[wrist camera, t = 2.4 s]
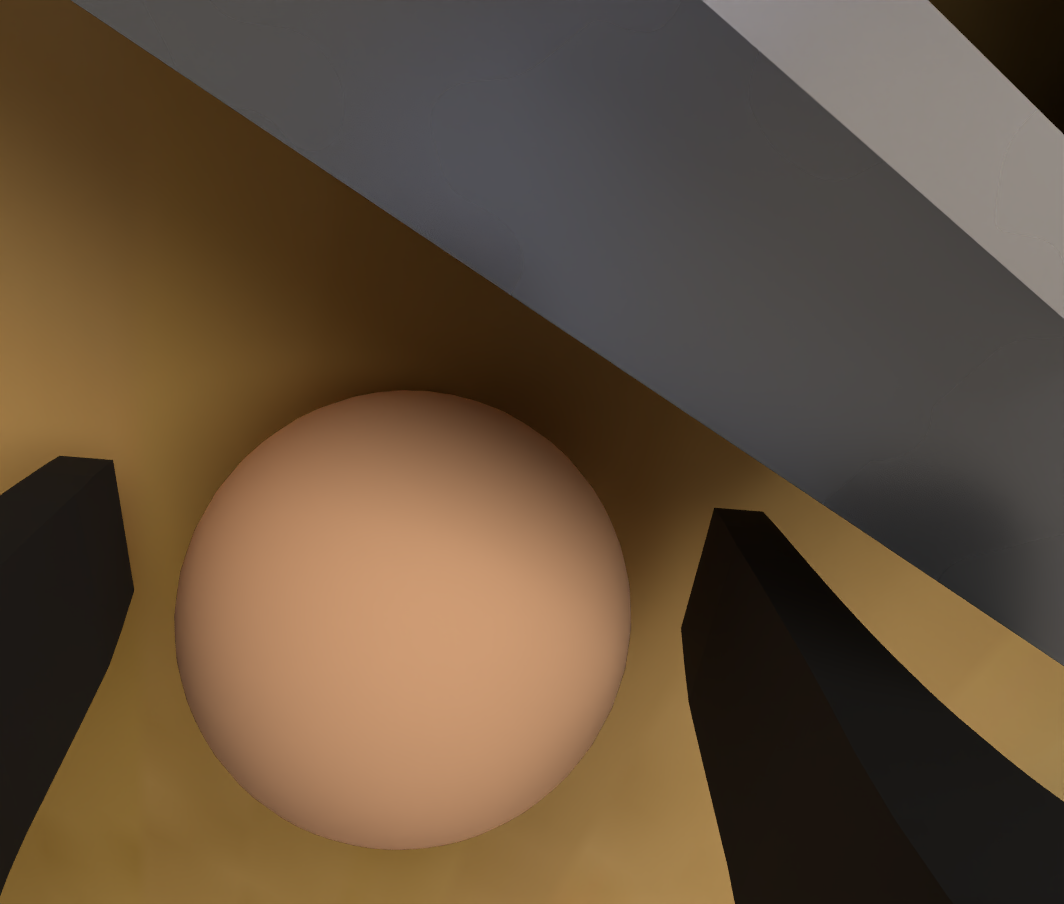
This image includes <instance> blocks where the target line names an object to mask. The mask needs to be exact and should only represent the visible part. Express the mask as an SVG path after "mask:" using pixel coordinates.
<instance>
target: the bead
mask: <svg viewBox="0 0 1064 904" xmlns="http://www.w3.org/2000/svg"><path fill="white" fill-rule="evenodd" d="M174 620H175V643H176V656H177V663H178V667H179V672H180V676H181V681H182V684H183V688H184V691H185V695H186V699H187V702H188V704H189V707H190V709H191V712H192V714H193V716H194V719H195V721H196V723H197V725H198V727H199V729H200V731H201V733H202V735H203V736H204V738H205V740H206V742H207V743H208V745H209V747H210V748H211V750H212V751H213V753H214V755H215V756H216V757H217V758H218V760H219V761H220V762H221V763H222V764H223V766H224V767H225V768H226V769H227V770H228V772H229V773H230V774H231V775H232V776H233V778H234V779H235V780H236V781H237V782H238V783H239V785H240V786H241V787H243V788H244V789H245V790H246V791H247V792H248V793H249V794H250V795H251V796H252V797H254V798H255V799H256V800H258V801H259V802H260V803H262V804H263V805H265V806H266V807H267V808H269V809H270V810H272V811H273V812H274V813H276V814H277V815H279V816H280V817H281V818H283V819H285V820H287V821H288V822H290V823H292V824H294V825H295V826H297V827H300V828H302V829H304V830H306V831H309V832H311V833H313V834H316V835H319V836H322V837H325V838H328V839H330V840H334V841H338V842H342V843H346V844H350V845H354V846H360V847H366V848H374V849H386V850H405V849H420V848H429V847H436V846H443V845H447V844H451V843H456V842H460V841H463V840H466V839H469V838H472V837H475V836H478V835H480V834H483V833H485V832H487V831H489V830H492V829H494V828H496V827H498V826H500V825H502V824H504V823H506V822H508V821H510V820H512V819H513V818H515V817H517V816H519V815H520V814H522V813H524V812H525V811H527V810H528V809H529V808H531V807H532V806H533V805H535V804H536V803H537V802H539V801H540V800H541V799H542V798H544V797H545V796H546V795H547V794H548V793H550V792H551V791H552V790H553V789H554V788H556V787H557V786H558V785H559V784H560V783H561V782H562V781H563V780H564V779H565V778H566V777H567V776H568V775H569V773H570V772H571V771H572V770H573V768H574V767H575V766H576V765H577V764H578V762H579V761H580V760H581V759H582V757H583V756H584V755H585V753H586V752H587V751H588V750H589V748H590V747H591V746H592V744H593V742H594V741H595V739H596V737H597V735H598V733H599V731H600V730H601V728H602V726H603V724H604V722H605V720H606V718H607V717H608V715H609V713H610V711H611V709H612V707H613V704H614V701H615V698H616V695H617V692H618V689H619V686H620V683H621V680H622V677H623V674H624V671H625V667H626V660H627V653H628V647H629V639H630V631H631V605H630V587H629V580H628V576H627V571H626V566H625V562H624V558H623V554H622V550H621V546H620V543H619V540H618V538H617V535H616V532H615V530H614V527H613V525H612V522H611V520H610V518H609V516H608V514H607V512H606V510H605V508H604V506H603V505H602V503H601V501H600V500H599V498H598V496H597V494H596V493H595V491H594V489H593V488H592V486H591V485H590V484H589V483H588V482H587V480H586V479H585V478H584V477H583V475H582V474H581V473H580V472H579V471H578V469H577V468H576V467H575V466H574V464H573V463H572V462H571V461H570V460H569V458H568V457H567V456H566V455H565V454H563V453H562V452H561V451H560V450H559V449H558V448H557V447H556V446H555V445H554V444H553V443H552V442H551V441H549V440H548V439H546V438H545V437H543V436H542V435H541V434H539V433H538V432H536V431H535V430H534V429H532V428H531V427H529V426H528V425H526V424H525V423H523V422H522V421H520V420H518V419H516V418H514V417H512V416H510V415H509V414H507V413H505V412H503V411H501V410H499V409H496V408H494V407H491V406H489V405H486V404H483V403H481V402H478V401H475V400H471V399H467V398H463V397H460V396H456V395H451V394H444V393H438V392H431V391H410V390H399V391H387V392H376V393H371V394H366V395H361V396H356V397H352V398H349V399H346V400H342V401H339V402H336V403H333V404H330V405H327V406H324V407H321V408H319V409H316V410H314V411H312V412H310V413H308V414H306V415H304V416H302V417H300V418H298V419H296V420H294V421H293V422H291V423H290V424H288V425H286V426H285V427H283V428H282V429H280V430H279V431H277V432H276V433H274V434H273V435H272V436H270V437H269V438H267V439H266V440H265V441H263V442H262V443H261V444H260V445H259V446H257V447H256V448H255V449H254V450H253V451H252V452H251V453H249V454H248V455H247V456H246V457H245V458H244V459H243V460H242V461H241V462H240V464H239V465H238V466H237V467H236V468H235V469H234V470H233V472H232V473H231V474H230V475H229V476H228V478H227V479H226V480H225V481H224V482H223V484H222V485H221V486H220V487H219V489H218V490H217V491H216V493H215V494H214V496H213V498H212V500H211V501H210V503H209V505H208V507H207V508H206V510H205V512H204V514H203V516H202V517H201V519H200V521H199V523H198V524H197V526H196V528H195V530H194V533H193V536H192V539H191V541H190V544H189V547H188V550H187V553H186V556H185V559H184V562H183V565H182V568H181V571H180V578H179V584H178V590H177V598H176V606H175V615H174Z"/></svg>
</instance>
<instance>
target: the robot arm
mask: <svg viewBox="0 0 1064 904" xmlns="http://www.w3.org/2000/svg"><path fill="white" fill-rule="evenodd" d="M133 592H134V586H133V580H132V574H131V568H130V562H129V556H128V549H127V543H126V537H125V531H124V525H123V519H122V512H121V506H120V500H119V494H118V488H117V482H116V476H115V469H114V463H113V460H105V459H92V458H80V457H67V456H59V457H57V458H55V459H54V460H52V461H51V462H49V463H47V464H46V465H44V466H43V467H41V468H40V469H38V470H37V471H35V472H34V473H32V474H31V475H29V476H28V477H26V478H25V479H23V480H22V481H20V482H19V483H17V484H16V485H15V486H13V487H12V488H10V489H9V490H7V491H6V492H4V493H3V494H2V495H0V895H1V893H2V890H3V887H4V884H5V882H6V879H7V877H8V874H9V871H10V869H11V867H12V865H13V862H14V860H15V858H16V856H17V853H18V851H19V849H20V847H21V844H22V842H23V840H24V838H25V836H26V833H27V831H28V829H29V827H30V825H31V823H32V821H33V819H34V817H35V815H36V813H37V811H38V809H39V807H40V805H41V803H42V801H43V799H44V797H45V795H46V793H47V791H48V789H49V787H50V785H51V783H52V781H53V779H54V777H55V775H56V773H57V771H58V769H59V767H60V765H61V763H62V761H63V759H64V757H65V755H66V753H67V751H68V749H69V747H70V745H71V743H72V741H73V739H74V737H75V735H76V733H77V731H78V729H79V727H80V725H81V723H82V721H83V719H84V717H85V715H86V713H87V710H88V708H89V706H90V704H91V702H92V700H93V698H94V696H95V694H96V692H97V690H98V688H99V686H100V684H101V682H102V680H103V677H104V675H105V673H106V671H107V669H108V667H109V665H110V662H111V659H112V656H113V653H114V650H115V647H116V645H117V642H118V639H119V636H120V633H121V630H122V627H123V624H124V621H125V618H126V614H127V611H128V608H129V605H130V602H131V599H132V596H133ZM681 632H682V643H683V654H684V665H685V674H686V683H687V691H688V700H689V705H690V710H691V714H692V719H693V723H694V727H695V732H696V736H697V740H698V745H699V749H700V753H701V757H702V762H703V766H704V770H705V774H706V778H707V782H708V787H709V791H710V795H711V799H712V803H713V807H714V811H715V816H716V820H717V824H718V828H719V832H720V836H721V841H722V845H723V849H724V853H725V857H726V861H727V866H728V870H729V875H730V880H731V886H732V891H733V896H734V901H735V904H1064V802H1063V801H1062V800H1060V799H1059V798H1058V797H1056V796H1055V795H1054V794H1052V793H1051V792H1050V791H1048V790H1047V789H1046V788H1044V787H1043V786H1041V785H1040V784H1039V783H1037V782H1036V781H1035V780H1034V779H1032V778H1031V777H1030V776H1028V775H1027V774H1026V773H1025V772H1023V771H1022V770H1021V769H1019V768H1018V767H1017V766H1016V765H1014V764H1013V763H1012V762H1011V761H1009V760H1008V759H1007V758H1006V757H1004V756H1003V755H1002V754H1001V753H1000V752H998V751H997V750H996V749H995V748H994V747H992V746H991V745H990V744H989V743H988V742H987V741H985V740H984V739H983V738H982V737H981V736H979V735H978V734H977V733H976V732H975V731H974V730H972V729H971V728H970V727H969V726H968V725H966V724H965V723H964V722H963V721H962V720H961V719H959V718H958V717H957V716H956V715H955V714H954V713H953V712H951V711H950V710H949V709H948V708H947V707H946V706H945V705H944V704H943V703H941V702H940V701H939V700H938V699H937V698H936V697H935V696H934V695H933V694H932V693H931V692H930V691H929V690H928V689H926V688H925V687H924V686H923V685H922V684H921V683H920V682H919V681H918V680H917V679H916V678H915V677H914V676H913V675H912V674H911V673H910V672H909V671H908V670H907V669H906V668H905V667H904V666H903V665H902V664H901V663H900V662H899V661H898V660H897V659H896V658H895V657H894V656H893V655H892V654H891V653H890V652H889V651H888V650H887V649H886V648H885V647H884V646H883V645H882V644H881V643H880V642H879V641H878V640H877V639H876V638H875V637H874V636H873V635H872V634H871V633H870V632H869V631H868V629H867V628H866V627H865V626H864V625H863V624H862V623H861V622H860V621H859V620H858V619H857V618H856V617H855V616H854V614H853V613H852V612H851V611H850V610H849V609H848V608H847V607H846V606H845V605H844V604H843V602H842V601H841V600H840V599H839V598H838V597H837V596H836V595H835V593H834V592H833V591H832V590H831V589H830V588H829V587H828V586H827V585H826V583H825V582H824V581H823V580H822V579H821V578H820V576H819V575H818V574H817V573H816V572H815V571H814V570H813V568H812V567H811V566H810V565H809V564H808V563H807V562H806V560H805V559H804V558H803V557H802V556H801V555H800V553H799V552H798V551H797V550H796V549H795V548H794V546H793V545H792V544H791V543H790V542H789V541H788V539H787V538H786V537H785V536H784V535H783V534H782V533H781V531H780V530H779V529H778V528H777V527H776V526H775V525H774V523H773V522H772V521H771V520H770V519H769V518H768V517H767V516H766V515H765V513H764V512H760V511H747V510H735V509H722V508H714V511H713V515H712V519H711V522H710V526H709V529H708V533H707V537H706V540H705V544H704V547H703V551H702V555H701V558H700V562H699V565H698V569H697V573H696V576H695V580H694V583H693V587H692V591H691V594H690V598H689V601H688V605H687V609H686V612H685V616H684V620H683V623H682V627H681Z"/></svg>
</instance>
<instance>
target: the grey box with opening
mask: <svg viewBox="0 0 1064 904" xmlns="http://www.w3.org/2000/svg"><path fill="white" fill-rule="evenodd" d="M71 1H73V2H74V3H76V4H77V5H79V6H80V7H82V8H83V9H85V10H86V11H88V12H89V13H91V14H92V15H94V16H95V17H97V18H98V19H100V20H101V21H103V22H104V23H106V24H107V25H108V26H110V27H111V28H113V29H114V30H116V31H117V32H119V33H120V34H122V35H123V36H125V37H126V38H128V39H129V40H131V41H132V42H134V43H135V44H137V45H138V46H140V47H141V48H143V49H144V50H146V51H147V52H149V53H150V54H152V55H153V56H155V57H156V58H158V59H159V60H161V61H162V62H164V63H165V64H167V65H168V66H170V67H171V68H173V69H174V70H176V71H177V72H179V73H180V74H182V75H183V76H185V77H186V78H188V79H189V80H191V81H192V82H193V83H195V84H196V85H198V86H199V87H201V88H202V89H204V90H205V91H207V92H208V93H210V94H211V95H213V96H214V97H216V98H217V99H219V100H220V101H222V102H223V103H225V104H226V105H228V106H229V107H231V108H232V109H234V110H235V111H237V112H238V113H240V114H241V115H243V116H244V117H246V118H247V119H249V120H250V121H252V122H253V123H255V124H256V125H258V126H259V127H261V128H262V129H264V130H265V131H267V132H268V133H270V134H271V135H273V136H274V137H276V138H277V139H279V140H280V141H281V142H283V143H284V144H286V145H287V146H289V147H290V148H292V149H293V150H295V151H296V152H298V153H299V154H301V155H302V156H304V157H305V158H307V159H308V160H310V161H311V162H313V163H314V164H316V165H317V166H319V167H320V168H322V169H323V170H325V171H326V172H328V173H329V174H331V175H332V176H334V177H335V178H337V179H338V180H340V181H341V182H343V183H344V184H346V185H347V186H349V187H350V188H352V189H353V190H355V191H356V192H358V193H359V194H361V195H362V196H364V197H365V198H366V199H368V200H369V201H371V202H372V203H374V204H375V205H377V206H378V207H380V208H381V209H383V210H384V211H386V212H387V213H389V214H390V215H392V216H393V217H395V218H396V219H398V220H399V221H401V222H402V223H404V224H405V225H407V226H408V227H410V228H411V229H413V230H414V231H416V232H417V233H419V234H420V235H422V236H423V237H425V238H426V239H428V240H429V241H431V242H432V243H434V244H435V245H437V246H438V247H440V248H441V249H443V250H444V251H446V252H447V253H449V254H450V255H452V256H453V257H454V258H456V259H457V260H459V261H460V262H462V263H463V264H465V265H466V266H468V267H469V268H471V269H472V270H474V271H475V272H477V273H478V274H480V275H481V276H483V277H484V278H486V279H487V280H489V281H490V282H492V283H493V284H495V285H496V286H498V287H499V288H501V289H502V290H504V291H505V292H507V293H508V294H510V295H511V296H513V297H514V298H516V299H517V300H519V301H520V302H522V303H523V304H525V305H526V306H528V307H529V308H531V309H532V310H534V311H535V312H537V313H538V314H539V315H541V316H542V317H544V318H545V319H547V320H548V321H550V322H551V323H553V324H554V325H556V326H557V327H559V328H560V329H562V330H563V331H565V332H566V333H568V334H569V335H571V336H572V337H574V338H575V339H577V340H578V341H580V342H581V343H583V344H584V345H586V346H587V347H589V348H590V349H592V350H593V351H595V352H596V353H598V354H599V355H601V356H602V357H604V358H605V359H607V360H608V361H610V362H611V363H613V364H614V365H616V366H617V367H619V368H620V369H622V370H623V371H625V372H626V373H627V374H629V375H630V376H632V377H633V378H635V379H636V380H638V381H639V382H641V383H642V384H644V385H645V386H647V387H648V388H650V389H651V390H653V391H654V392H656V393H657V394H659V395H660V396H662V397H663V398H665V399H666V400H668V401H669V402H671V403H672V404H674V405H675V406H677V407H678V408H680V409H681V410H683V411H684V412H686V413H687V414H689V415H690V416H692V417H693V418H695V419H696V420H698V421H699V422H701V423H702V424H704V425H705V426H707V427H708V428H710V429H711V430H712V431H714V432H715V433H717V434H718V435H720V436H721V437H723V438H724V439H726V440H727V441H729V442H730V443H732V444H733V445H735V446H736V447H738V448H739V449H741V450H742V451H744V452H745V453H747V454H748V455H750V456H751V457H753V458H754V459H756V460H757V461H759V462H760V463H762V464H763V465H765V466H766V467H768V468H769V469H771V470H772V471H774V472H775V473H777V474H778V475H780V476H781V477H783V478H784V479H786V480H787V481H789V482H790V483H792V484H793V485H795V486H796V487H798V488H799V489H800V490H802V491H803V492H805V493H806V494H808V495H809V496H811V497H812V498H814V499H815V500H817V501H818V502H820V503H821V504H823V505H824V506H826V507H827V508H829V509H830V510H832V511H833V512H835V513H836V514H838V515H839V516H841V517H842V518H844V519H845V520H847V521H848V522H850V523H851V524H853V525H854V526H856V527H857V528H859V529H860V530H862V531H863V532H865V533H866V534H868V535H869V536H871V537H872V538H874V539H875V540H877V541H878V542H880V543H881V544H883V545H884V546H885V547H887V548H888V549H890V550H891V551H893V552H894V553H896V554H897V555H899V556H900V557H902V558H903V559H905V560H906V561H908V562H909V563H911V564H912V565H914V566H915V567H917V568H918V569H920V570H921V571H923V572H924V573H926V574H927V575H929V576H930V577H932V578H933V579H935V580H936V581H938V582H939V583H941V584H942V585H944V586H945V587H947V588H948V589H950V590H951V591H953V592H954V593H956V594H957V595H959V596H960V597H962V598H963V599H965V600H966V601H968V602H969V603H971V604H972V605H973V606H975V607H976V608H978V609H979V610H981V611H982V612H984V613H985V614H987V615H988V616H990V617H991V618H993V619H994V620H996V621H997V622H999V623H1000V624H1002V625H1003V626H1005V627H1006V628H1008V629H1009V630H1011V631H1012V632H1014V633H1015V634H1017V635H1018V636H1020V637H1021V638H1023V639H1024V640H1026V641H1027V642H1029V643H1030V644H1032V645H1033V646H1035V647H1036V648H1038V649H1039V650H1041V651H1042V652H1044V653H1045V654H1047V655H1048V656H1050V657H1051V658H1053V659H1054V660H1056V661H1057V662H1058V663H1060V664H1061V665H1063V666H1064V134H1063V133H1062V132H1061V131H1060V130H1059V129H1058V128H1057V127H1056V126H1055V125H1054V124H1053V123H1052V122H1051V121H1049V120H1048V119H1047V118H1046V117H1045V116H1044V115H1043V114H1042V113H1041V112H1040V111H1039V110H1038V109H1037V108H1036V107H1035V106H1034V105H1033V104H1032V103H1031V102H1030V101H1029V100H1028V99H1027V98H1026V97H1025V96H1024V95H1023V94H1022V93H1021V92H1020V91H1019V90H1018V89H1017V88H1016V87H1015V86H1014V85H1013V84H1012V83H1011V82H1010V81H1009V80H1008V79H1007V78H1006V77H1005V76H1004V75H1003V74H1002V73H1001V72H1000V71H999V70H998V69H997V68H996V67H995V66H994V65H993V64H992V63H991V62H990V61H989V60H988V59H987V58H986V57H985V56H984V55H983V54H982V53H981V52H980V51H979V50H978V49H977V48H976V47H975V46H974V45H973V44H972V43H971V42H970V41H969V40H968V39H967V38H966V37H965V36H964V35H963V34H962V33H961V32H960V31H959V30H958V29H957V28H956V27H955V26H954V25H953V24H952V23H951V22H950V21H949V20H948V19H947V18H946V17H945V16H944V15H943V14H941V13H940V12H939V11H938V10H937V9H936V8H935V7H934V6H933V5H932V4H931V3H930V2H929V1H928V0H71Z"/></svg>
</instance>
